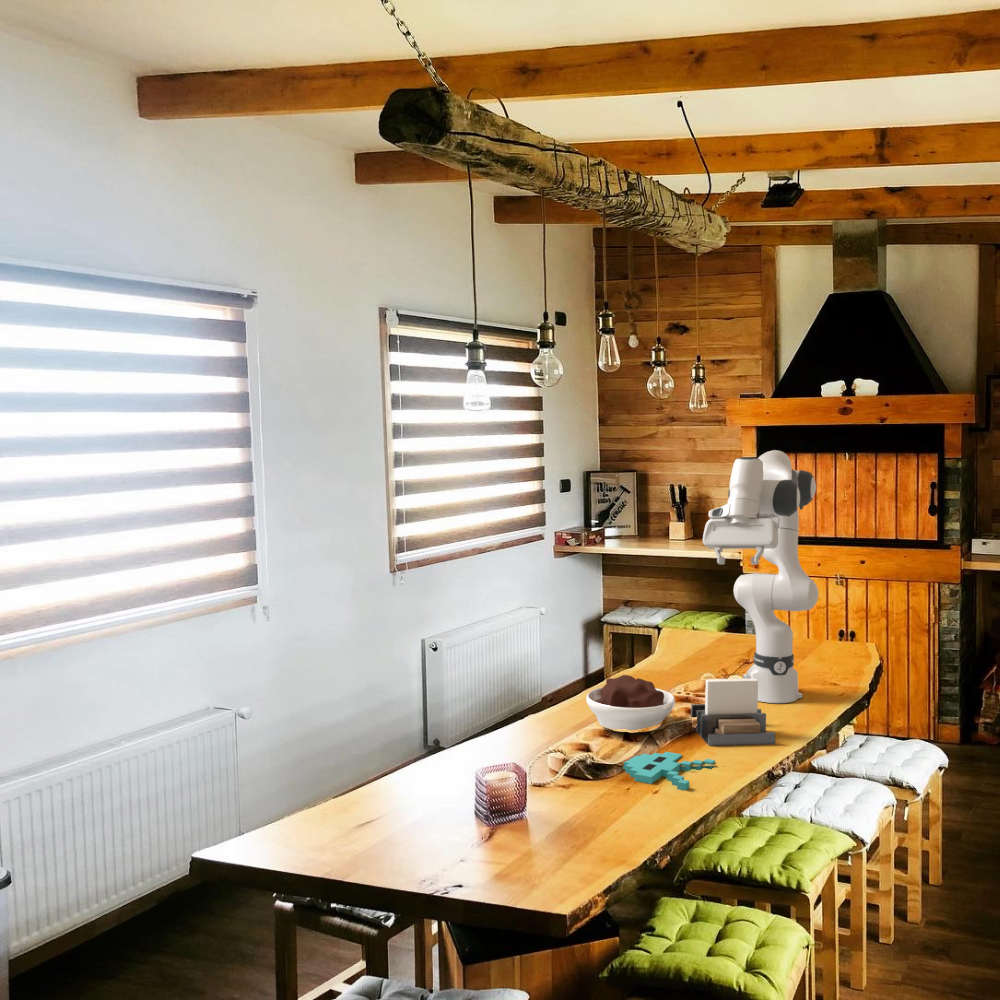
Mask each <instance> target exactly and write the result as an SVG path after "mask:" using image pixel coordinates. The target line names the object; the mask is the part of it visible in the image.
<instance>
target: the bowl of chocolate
mask: <svg viewBox="0 0 1000 1000" xmlns="http://www.w3.org/2000/svg"><path fill="white" fill-rule="evenodd" d="M605 683H606V684H605V685H604V686H602V687H598V688H595V689H592V690H591V691H589V692H588V693H587V695H586V697H585V700H586V703H587V706H588V708H589V710H591V712H592V713H593V714H594V715H595V717H596V720H597V722H598V723H599V726H601V727H602V726H604V727H606V728H609V729H627V730H638V729H643V728H647V727H652V726H654V725H658V724H660V723H661V722H662V721H663V720H664V721H665V719H666V717H667V716H669V714H670V713H671V712H672V711H673V709H674V708H675V705H676V699H675V698H676V697H675V696H674V695H673V694H672V693H670V692H668V691H667V690H663V689H660V688H657V687H655V685H654V683H653V682H652V681H649V680H645V679H643V678H640V677H637V678H635V677H633V676H631V675H628V674H623V675H620V676H617V677H615V678H607V679H605ZM664 721H663V722H664ZM604 727H603V728H604ZM606 728H605V729H606Z"/></svg>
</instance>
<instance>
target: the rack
mask: <svg viewBox="0 0 1000 1000" xmlns="http://www.w3.org/2000/svg"><path fill="white" fill-rule="evenodd" d="M690 708H691V709H690V713H691V714H690V718H691V717H697V726H696V728H695V729H694V730H695V732H696V733H697V734H698V736H699V737H701V739H702V740H703V741H704V742H705V743H706V744H707V747H708V746H709V747H723V746H724V747H725V746H727V747H728V746H729V747H730V746H762V745H764V746H765V745H767V746H768V745H775V744H776V732H775V731H769V732H768V731H767V713H765V712H762V709H761V708H758V709H757V713H745V714H705V703H698V704H697V703H695V704H693V703H692V704H691V705H690ZM723 719H755V720H756V721H757V722H759V723H760V733H719V734H715V729H718V724H719V720H723Z"/></svg>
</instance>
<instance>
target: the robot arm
mask: <svg viewBox="0 0 1000 1000" xmlns="http://www.w3.org/2000/svg"><path fill="white" fill-rule="evenodd" d="M816 490H817V484H816V480H815V477H814V475H813V473H812V472H809V471H808V470H803V469H801V470H796V469H793V468H792V461H791V459H790V457H789V456H788V455H787V454H786V453H785V452H784V451H782V450H778V449H777V450H776V449H773V450H770V451H766V452H764V453H763V454H761V455H759V457H744V456H742V457H738V458H736V459H735V460H734V462H733V465H732V469H731V473H730V479H729V486H728V496H727V503H726V504H724V505H722V506H718V507H716V508H713V509H710V510H709V511H708V518H709V519H708V521H706V523H705V526H704V531H703V535H702V543H703V546H704V547H706V548H707V549H710V550H711V549H714V552H715V555H716V557H717V559H716V563H717V564H718V565H725V564H726V557H724V556H722V554H721V553H723V550H724V549H725V550H726V549H727V550H728V549H730V550H731V549H733V550H734V549H735V550H736V549H744V550H745V549H747V550H750V549H751V550H752V549H753V550H756V553H755V554H754V556H751V557H750V564H751V565H759V561H760V558H761V557H763V559H765V560H766V561H768V562H769V563H771V564H773V565H775V566H776V567H777V569H778V573H776V574H773V573H759V572H758V573H757V572H756V573H747V574H740V575H739V576H738V578H736V580H735V582H734V585H733V590H732V591H733V596H734V599H735V601H736V602H737V603H738V604H739V606H741V607H742V608H743V609H745V611H746V612H747V613H748V615H749V616H750V618H751V620H752V622H753V626H754V631H755V643H756V644H755V649H756V650H755V652H754V655H753V662H752V663H753V664H752V665H751V666H750V667H749V668H748V670H747V671H746V673H743V675H742V679H757V680H758V702H763V703H768V704H786V703H787V704H789V703H792V702H793V703H794V702H795V701H797V700H798V699H802V698H804V697H803V695H804V693H802V692H800V691H799V675H798V674H799V672H798V671H797V669H795V667H793V666H794V662H795V658H794V654H793V645H794V644H793V643H794V641H793V639H794V637H793V636H794V635H793V634H794V632H793V630H792V628H791V626H790V625H789V624H787V623H786V622H785V621H783V620H781V619H779V618H778V617H777V615H775V611H785V612H788V611H789V612H800V611H801V612H802V611H809V610H810V611H811V610H812V608H814V607H815V605H816V604H817V602H818V599H819V588H818V586H817V584H816V582H815V581H814V580H813V579H812V578H811V577H809V576H808V574H807V573H806V572H805V571H804V570H803V567H802V566H801V563H800V559H799V552H798V551H799V548H798V547H799V546H798V544H799V527H800V526H799V524H800V522H799V521H800V519H799V510H800V511H802V510H803V509H804V507H805V506H807V505H809V504H810V503H811V502H812V501H813V499H814V497H815V494H816ZM798 509H799V510H798Z"/></svg>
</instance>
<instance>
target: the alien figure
mask: <svg viewBox="0 0 1000 1000" xmlns="http://www.w3.org/2000/svg"><path fill="white" fill-rule="evenodd" d="M682 757H683V754H681V753H677V752H676V753H675V752H670V751H665V752H664V753H660V752H654V753H652V754H647V753H642V754H640V755H637V756H635V757H633V758H631V759H630V760H628V761H626V762H624V766H623V769H622V770H625V774H629V777H631V778H634V779H633V781H634V782H638V783H644V784H649V785H652V784H653V783H654V782H655V783H656V781H658V780H659V779H660V778H661V777H664V778H666V781H669V782H671V785H672V786H676V790H681V791H685V790H686V791H687V790H688V789H690V780H686V779H685V776H683V775H680V771H683V772H690V771H691V770H696V771H702V769H706V768H707V769H708V770H713V769H714V768H715V767H716V766H715V765H714V764H715V763H716V760H715V759H711V758H705V759H704V760H699V759H694V760H692V761H689V760H683V761H681V762H678V760H680V759H681V758H682ZM704 764H705V765H704ZM712 768H713V769H712Z"/></svg>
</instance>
